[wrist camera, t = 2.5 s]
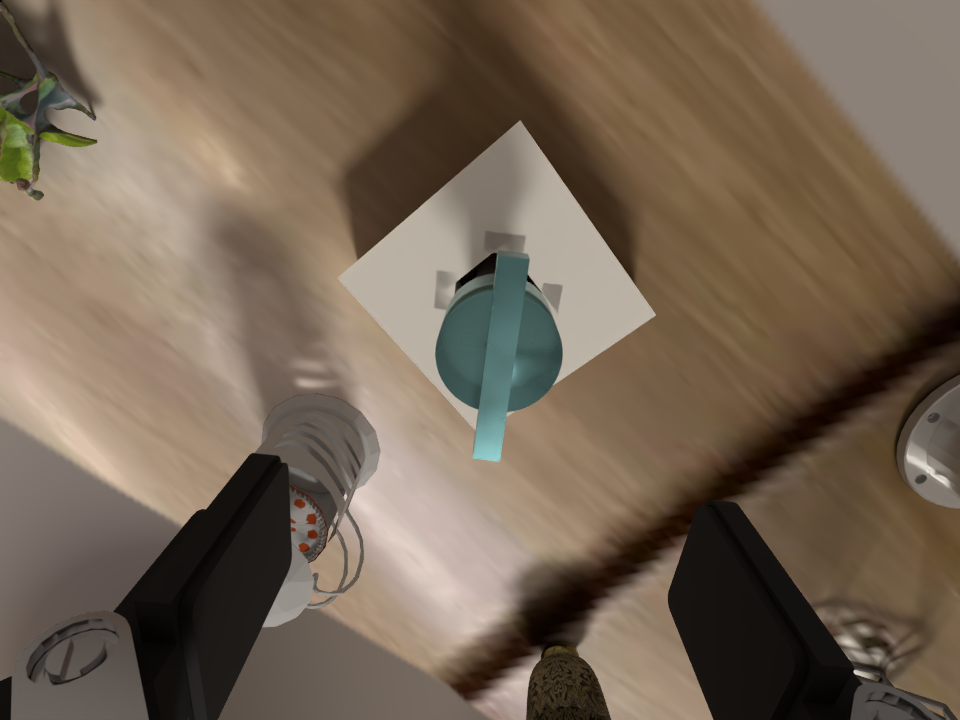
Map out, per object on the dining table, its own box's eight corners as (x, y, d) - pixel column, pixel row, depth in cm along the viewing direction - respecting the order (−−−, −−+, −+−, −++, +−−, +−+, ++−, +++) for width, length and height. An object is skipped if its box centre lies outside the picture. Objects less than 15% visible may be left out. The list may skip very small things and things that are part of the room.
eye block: (516, 125, 32) (520, 120, 27) (635, 294, 36) (656, 315, 31) (358, 262, 35) (337, 278, 31) (481, 402, 39) (479, 435, 35)
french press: (315, 369, 39) (44, 688, 15) (420, 466, 42) (326, 854, 18) (236, 441, 41) (-96, 806, 18) (340, 527, 44) (171, 934, 21)
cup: (514, 628, 48) (518, 714, 41) (590, 617, 47) (608, 703, 40) (529, 680, 51) (534, 769, 44) (601, 671, 50) (620, 760, 43)
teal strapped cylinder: (465, 208, 34) (441, 248, 19) (545, 218, 34) (586, 266, 19) (452, 333, 37) (424, 453, 22) (526, 342, 37) (547, 466, 22)
